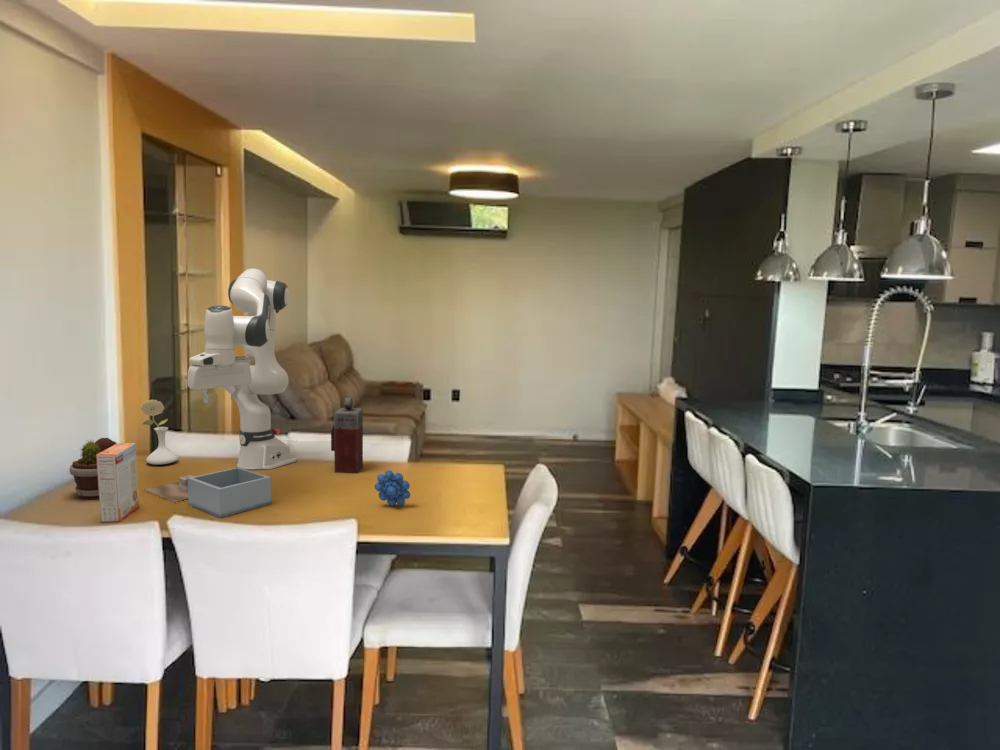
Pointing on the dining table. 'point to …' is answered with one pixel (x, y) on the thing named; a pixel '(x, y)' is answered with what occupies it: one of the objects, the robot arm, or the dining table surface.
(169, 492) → the lid
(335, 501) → the dining table surface
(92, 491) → the flowerpot
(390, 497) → the blue knobby flower shape
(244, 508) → the bin
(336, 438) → the red grey canister
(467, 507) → the dining table surface
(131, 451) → the cracker box
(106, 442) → the ice cream bowl
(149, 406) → the flower in vase
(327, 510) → the dining table surface
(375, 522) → the dining table surface
